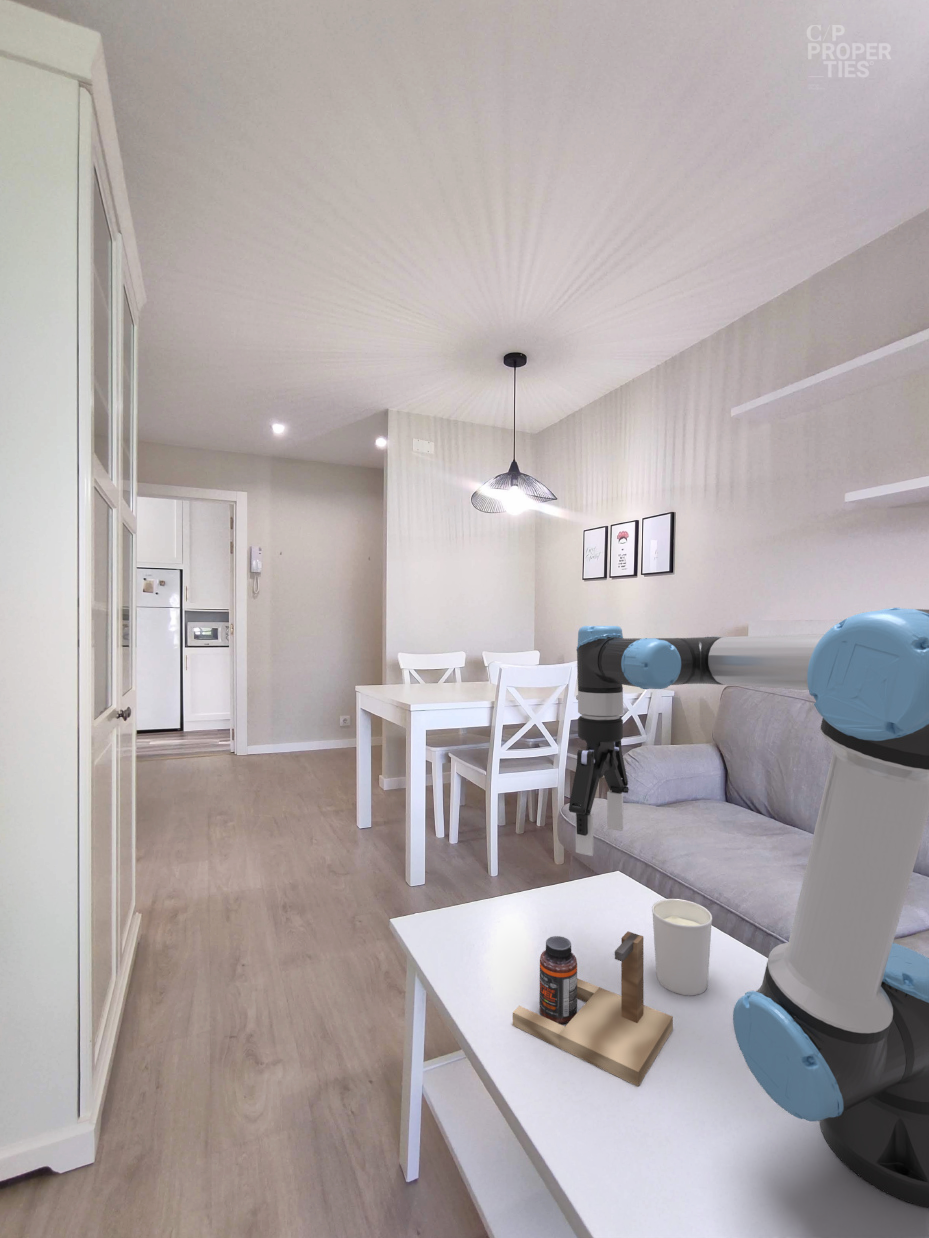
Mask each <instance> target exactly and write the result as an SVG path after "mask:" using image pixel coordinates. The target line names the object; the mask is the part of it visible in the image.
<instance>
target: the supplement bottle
mask: <svg viewBox="0 0 929 1238" xmlns="http://www.w3.org/2000/svg"><path fill="white" fill-rule="evenodd" d="M539 956H540V957H539V1001H538V1002H539V1003H538V1004H539V1011H540V1013H541V1014H540V1015H541V1016H543V1017H545V1018H547V1019H550V1020H552V1021H554V1022H556V1023H558V1024H566V1023H569V1022H570V1021H571V1019H572V1018H573V1017H574V1016H575V1015H576V1014H577V1013H578V1010H577V1009H578V998H577V978H578V959H577V957H576V955H575V954H574V953H573V952H572V943H571V940H570V939H569V938H566V937H565V936H561V935H560V936H558V935H554V936H550V937H548V938H546V941H545V950H543V951H542V952H541V954H540V955H539Z"/></svg>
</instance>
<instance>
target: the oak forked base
mask: <svg viewBox="0 0 929 1238" xmlns="http://www.w3.org/2000/svg"><path fill="white" fill-rule="evenodd" d="M577 1000H581V1001H583V1002H585V1003H584V1005H582V1007H580V1009H579V1010H577V1013H576V1015H575V1016H574V1017H573V1018H572V1019H571V1021H569V1022H567V1024H566V1025H563V1024H561V1023H556V1022H554V1021H552V1020H550V1019H547V1018H545V1017H544V1016H543V1015H542V1014H538V1013H537V1012H534V1011H533V1010H530V1009H528V1008H525V1007H523V1006H522V1005H518V1007H516V1009H514V1010H513V1012H512V1026H513V1027H515V1028H517V1029H519V1030H521V1031H524V1032H526V1033H528V1034H530V1035H532V1036H534V1037H535V1038H537V1039H540V1040H542V1041H544V1042H546V1043H548V1044H550V1045H552V1046H554V1047H556V1048H558V1049H559V1050H563V1051H564V1052H566V1053H568V1054H571V1055H573V1056H575V1057H576V1058H579V1059H581V1060H582V1061H585V1062H587V1063H589V1064H590V1065H593V1066H595V1067H597V1068H599V1069H601V1070H603V1071H605V1072H607V1073H609V1074H611V1075H613V1076H615V1077H618V1078H620V1079H622V1080H624V1081H626V1082H628V1083H630V1084H631V1085H633V1086H636V1087H640V1085H641V1083H642V1082H643V1080H644V1078H645V1077H646V1075H647V1073H648V1071H650V1068H651V1067H652V1066H653V1063H654V1062H655V1060H656V1059H657V1057H658V1055H659V1054H660V1052H661V1050H662V1048H663V1047H664V1046H665V1044H666V1041H668V1038H669V1037H670V1035H671V1034H672V1032H673V1030H674V1016H673V1015H670V1014H667V1013H666V1012H662V1011H660V1010H658V1009H655V1008H654V1007H653V1008H652V1007H650V1006H647V1005H645V1004H643V1016H642V1017H641V1019H640V1020H639V1022H638V1023H635V1022H633V1021H631V1020H628V1019H626V1018H624V1017H621V995H620V994H617V993H615V992H613V991H610V990H607V989H605V988H603V987H600V986H598V985H595V984H592V983H590V982H588V981H585V980H582V979H580V978H578V977H577Z"/></svg>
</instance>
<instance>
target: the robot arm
mask: <svg viewBox="0 0 929 1238" xmlns="http://www.w3.org/2000/svg"><path fill="white" fill-rule="evenodd" d="M576 661H577V662H576V665H577V666H576V669H577V695H576V696H575V699H576V701H577V713H578V714H579V716H578V718H577V736H578V738H579V739H580V740H581V741H585V742H586V746H585V750H582V749H578V750H577V752H576V753H577V754H576V766H575V771H574V773H575V774H574V778H573V783H572V789H571V794H570V801H569V805H568V812H570V813H573V814H575V853H577V854H581V855H584V856H585V855H586V856H590V857H593V855H594V813H591V812H592V808H593V806H594V805H593V804H594V802H595V797H596V794H597V790H598V786H599V783H600V779H602V778H603V777H604V779H605V782H606V784H607V786H608V790H609V791H607V792H606V794H607V795H606V802H607V803H606V808H607V809H606V814H607V817H606V819H607V826H606V829H607V830H612V831H613V830H614V831H618V832H623V831H624V794H628V793H629V791H630V789H629V788H630V787H629V786H628V785H629V781H628V775H627V770H626V765H625V761H624V756H623V755H624V754H623V751H622V750H623V749H622V739H623V737H624V720H623V719H622V717H621V716H622V715H623V714H624V692H623V691H624V689H623V688H624V687H623V686H630V687H634V688H635V687H636V688H640V689H642V690H663V689H664V690H665V689H666V688H668V687H670V686H679V685H680V686H682V685H698V684H699V685H701V684H703V685H705V684H706V685H717V686H718V685H720V686H725V685H726V686H727V685H728V686H739V687H752V688H755V687H756V688H767V689H768V688H769V689H779V690H780V689H782V690H783V689H785V690H794V691H807V692H808V693H809V695H810V696H811V697H813V699H814V700H815V702H814V703H813V706H814V708H815V709H816V711H817V713H818V714H819V715H820V716H821V718H822V719H821V723H820V727H819V731H820V734H821V736H822V737H823V738H824V739H825V741H826V742H827V743H828V744H829V746H830V747H831V749H832V754H831V758H830V763H829V766H828V772H827V776H826V780H825V784H824V788H823V792H822V797H821V801H820V806H819V810H818V814H817V819H816V823H815V826H814V831H813V836H812V840H811V844H810V849H809V853H808V856H807V857H808V858H807V861H806V866H805V870H804V874H803V879H802V883H801V888H800V892H799V895H798V901H797V906H796V909H795V914H794V916H793V921H792V926H791V930H790V936H789V939H788V942H785V943H781V944H778V945H776V946H775V947H773V948H772V950H771V951H770V952H769V955H768V957H767V962H766V966H765V971H764V974H763V977H762V978H763V980H762V983H761V985H760V987H759V988H758V989H757V990H750V991H747V992H745V993H744V995H742V996H740V997H739V998H738V999H737V1000H736V1002H735V1004H734V1007H733V1012H732V1024H733V1032H734V1035H735V1038H736V1044H737V1046H738V1048H739V1050H740V1052H741V1053H742V1056H743V1058H744V1061H745V1064H746V1065H747V1066H748V1069H749V1070H750V1072H751V1074H752V1076H753V1077H754V1078H755V1080H756V1081H757V1083H758V1084H759V1085H760V1087H761V1088H762V1089H763V1091H765V1093H766V1094H767V1095H768V1096H769V1097H770V1099H772V1101H774V1102H775V1104H777V1105H778V1106H779V1107H780V1108H781V1109H783V1110H784V1111H785V1112H787V1113H788V1114H790V1115H791V1116H793V1117H795V1118H797V1119H800V1120H805V1121H807V1122H819V1125H820V1130H821V1133H822V1135H823V1137H824V1139H825V1141H826V1143H827V1144H828V1146H829V1147H830V1148H831V1150H832V1151H833V1152H834V1154H835V1155H836V1156H837V1157H838V1158H839V1159H840V1160H841V1162H843V1163H844V1164H845V1165H846V1166H847V1167H848V1168H849V1169H850V1170H852V1171H853V1172H854V1173H855V1174H856V1175H858V1176H859V1177H860V1178H862V1179H863V1180H864V1181H866V1182H867V1183H869V1184H871V1185H872V1186H874V1187H875V1188H877V1189H879V1190H881V1191H882V1192H884V1193H885V1194H886V1193H887V1194H888V1195H891V1196H892V1197H895V1198H897V1199H899V1200H902V1201H905V1202H908V1203H910V1204H912V1205H913V1204H914V1205H916V1206H920V1207H926V1208H929V957H928V956H926V955H924V954H922V953H920V952H918V951H916V950H913V949H912V948H910V947H906V946H904V945H901V944H898V943H896V942H894V940H895V937H896V932H897V929H898V926H899V921H900V918H901V914H902V912H903V911H902V910H903V907H904V905H905V900H906V897H907V893H908V890H909V885H910V883H911V879H912V878H911V877H912V875H913V872H914V867H915V864H916V860H917V856H918V853H919V850H920V845H921V842H922V839H923V837H924V832H925V829H926V825H927V821H928V817H929V609H926V608H925V609H923V608H922V609H921V608H901V607H892V608H883V609H879V610H873V611H872V610H871V611H866V612H862V613H861V612H860V613H857V614H854V615H852V616H849V617H847V618H844V619H843V620H841V621H840V622H839V623H836V624H835V625H834V626H832V627H831V628H830V629H829V630H828V631H826V632H825V633H817V634H816V633H814V634H813V633H812V634H809V633H808V634H786V635H785V634H783V635H781V634H779V635H778V634H777V635H743V636H742V635H741V636H705V637H704V636H703V637H653V638H652V637H649V638H648V637H644V638H637V637H636V638H635V637H633V638H626V637H624V636H623V629H622V627H621V626H618V625H583V626H581V627H579V629H578V632H577V646H576Z"/></svg>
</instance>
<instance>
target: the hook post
mask: <svg viewBox="0 0 929 1238" xmlns="http://www.w3.org/2000/svg"><path fill="white" fill-rule="evenodd" d="M620 940H621V941H620V942H621V944H620V945H619V946H617V948H616V949H615V950H614V959H615V961H619V962H620V963H621V967H620V968H621V976H620V980H621V982H620V983H621V989H620V990H621V991H620V994H621V995H620V996H621V1017H624V1018H626V1019H628V1020H631V1021H633V1022H635V1023H638V1022H639V1020H640V1019H641V1017H642V1016H643V1005H644V936H643V935H640V934H637V933H635V932H631V931H626V932H625V933H624V935H623V936H622V937H621V939H620Z"/></svg>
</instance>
